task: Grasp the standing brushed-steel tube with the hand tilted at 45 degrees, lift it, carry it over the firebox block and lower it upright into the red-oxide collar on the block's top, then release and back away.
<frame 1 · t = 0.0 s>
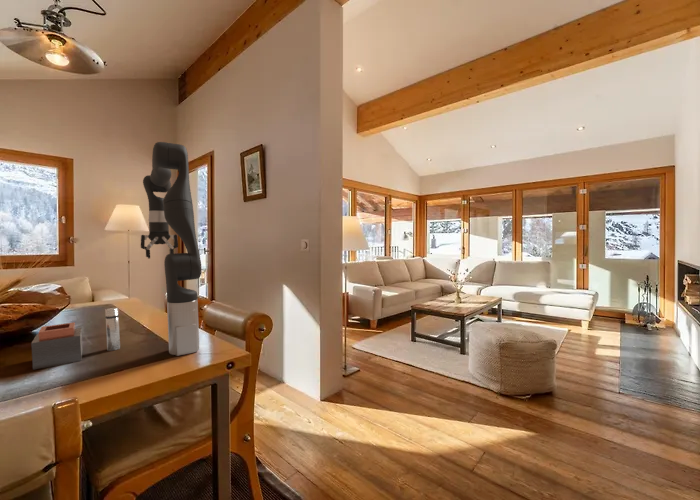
hand: (160, 258, 145), 29 cm above the table, tool pointing down, fingers open, 8 cm apart
steel tube: (113, 348, 113), on the table
firebox block: (59, 359, 104), on the table
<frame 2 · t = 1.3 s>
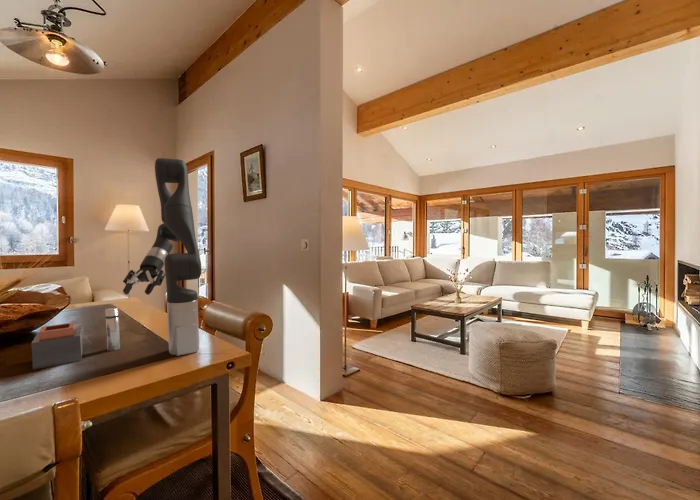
hand: (135, 293, 124), 17 cm above the table, tool tilted 45°, fingers open, 8 cm apart
nothing on the table moved.
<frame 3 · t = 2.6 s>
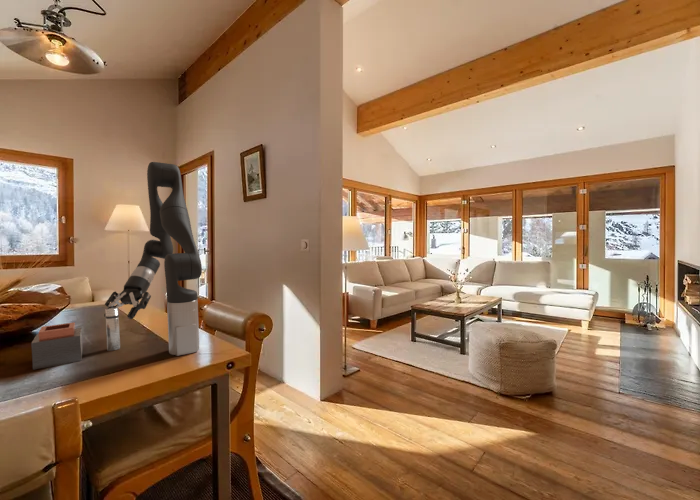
hand: (118, 317, 115), 10 cm above the table, tool tilted 45°, fingers open, 8 cm apart
nothing on the table moved.
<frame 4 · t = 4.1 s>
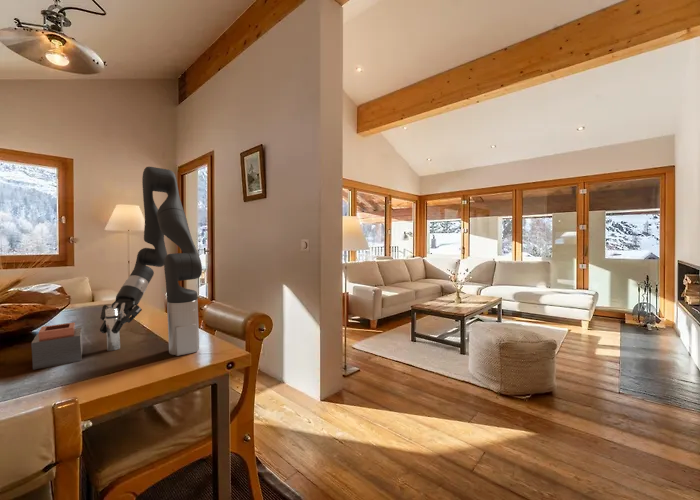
hand: (108, 332, 111), 7 cm above the table, tool tilted 45°, fingers closed on steel tube, 3 cm apart
steel tube: (113, 348, 113), on the table, touching gripper
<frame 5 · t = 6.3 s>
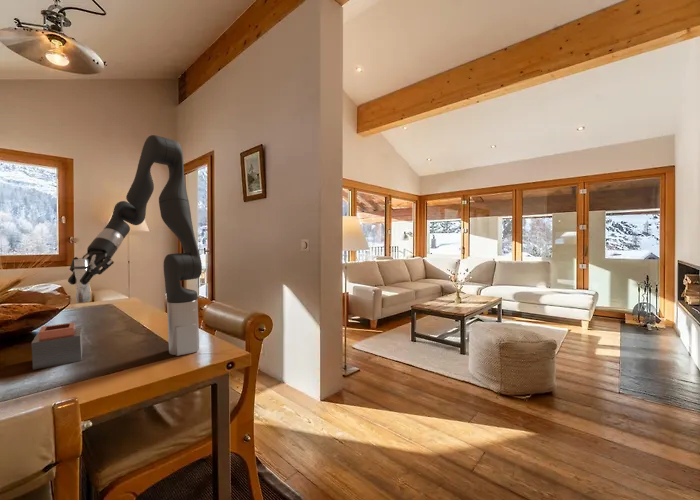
hand: (76, 282, 105), 24 cm above the table, tool tilted 45°, fingers closed on steel tube, 3 cm apart
steel tube: (83, 301, 108), point 18 cm above the table, touching gripper
when the fingers open (16 cm above the table, at t = 8.5 s): steel tube drops 1 cm, resting on firebox block.
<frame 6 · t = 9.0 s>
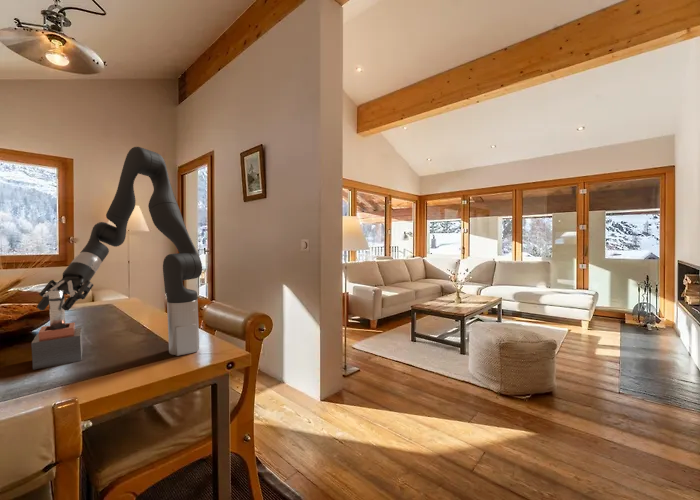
hand: (52, 309, 101), 17 cm above the table, tool tilted 45°, fingers open, 8 cm apart
steel tube: (58, 334, 103), point 8 cm above the table, touching firebox block
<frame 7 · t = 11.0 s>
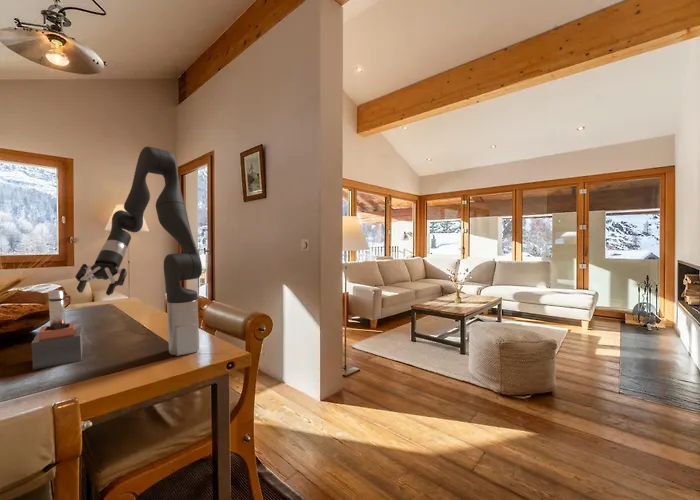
hand: (93, 293, 114), 19 cm above the table, tool tilted 40°, fingers open, 8 cm apart
nothing on the table moved.
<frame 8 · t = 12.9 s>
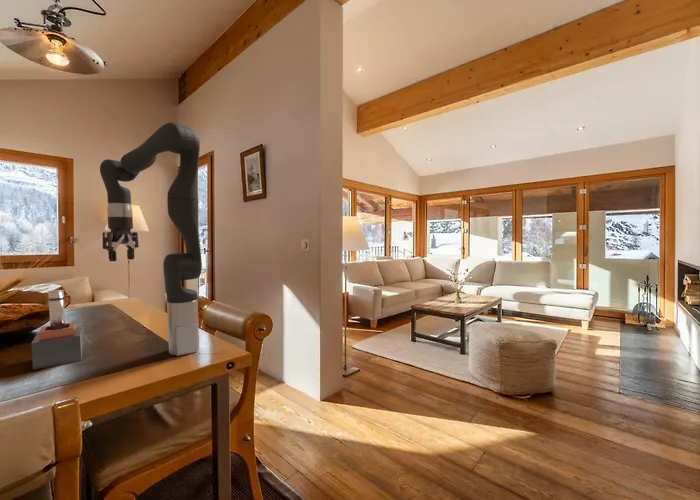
hand: (122, 260, 120), 30 cm above the table, tool pointing down, fingers open, 8 cm apart
nothing on the table moved.
at the end: steel tube 0.2 cm off-centre on the firebox block, point 8.1 cm above the firebox block's base; steel tube tilted 2°; the gripper is holding nothing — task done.
